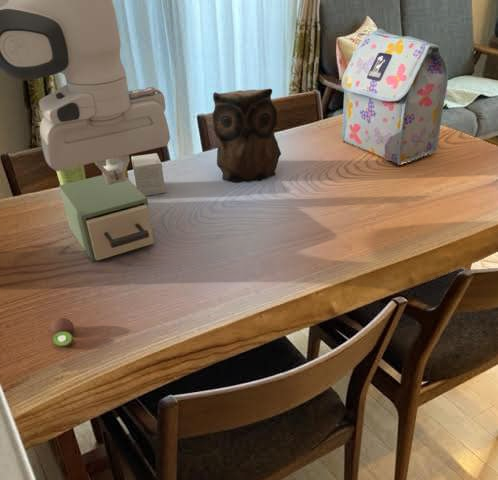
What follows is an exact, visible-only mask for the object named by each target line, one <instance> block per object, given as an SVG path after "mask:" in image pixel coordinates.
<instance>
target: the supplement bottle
mask: <svg viewBox="0 0 498 480" xmlns="http://www.w3.org/2000/svg"><path fill="white" fill-rule="evenodd" d="M119 162H120V159H119V158H118V157H116V158H112V159H107V160H106V164H107V165H106V166H103V167H104V168H105V169H106V170H107V171H110V170H112V171H113V170H114V169H118V165H119ZM101 173H102V175H104V173H103V172H102V171H101ZM125 175H126V177H127V178H128V179H129V180H130V178H129V173H128V168H127V169H126V171H125Z"/></svg>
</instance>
